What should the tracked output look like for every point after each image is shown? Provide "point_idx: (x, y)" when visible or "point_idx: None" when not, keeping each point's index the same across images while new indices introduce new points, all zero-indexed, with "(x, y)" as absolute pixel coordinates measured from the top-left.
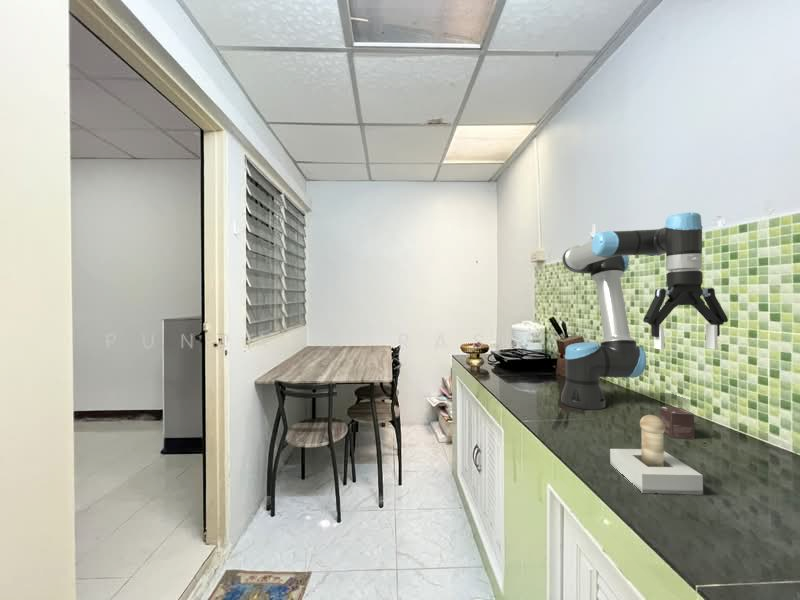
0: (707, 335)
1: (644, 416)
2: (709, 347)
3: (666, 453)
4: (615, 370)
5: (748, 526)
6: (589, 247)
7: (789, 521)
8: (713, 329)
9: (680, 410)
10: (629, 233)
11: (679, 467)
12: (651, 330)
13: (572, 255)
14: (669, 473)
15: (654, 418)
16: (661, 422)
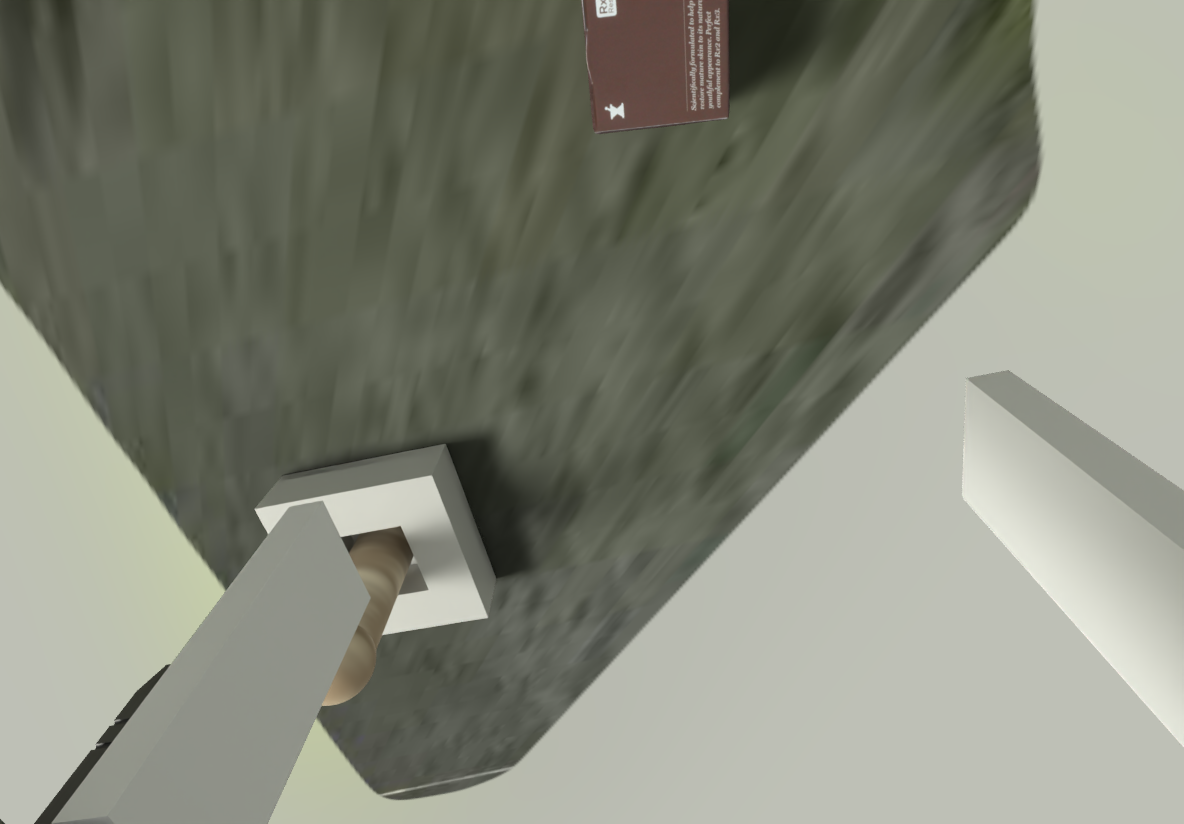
0: (1087, 513)
1: None
2: (973, 434)
3: (438, 504)
4: None
5: (530, 668)
6: None
7: (627, 637)
8: (1167, 715)
9: (682, 49)
10: None
11: (442, 589)
12: (88, 762)
13: None
14: (402, 625)
15: (323, 705)
16: (350, 698)
